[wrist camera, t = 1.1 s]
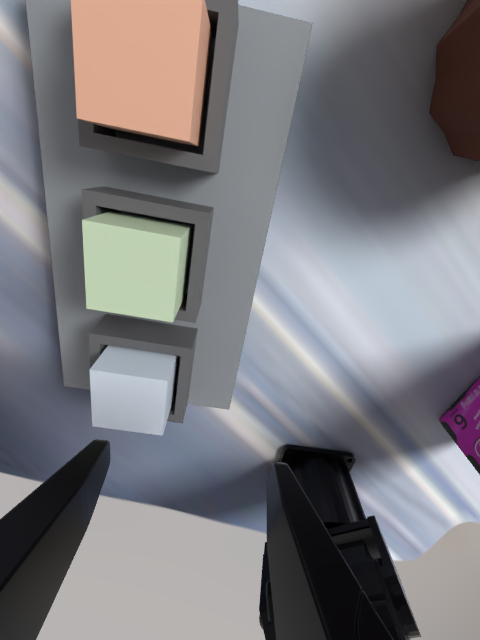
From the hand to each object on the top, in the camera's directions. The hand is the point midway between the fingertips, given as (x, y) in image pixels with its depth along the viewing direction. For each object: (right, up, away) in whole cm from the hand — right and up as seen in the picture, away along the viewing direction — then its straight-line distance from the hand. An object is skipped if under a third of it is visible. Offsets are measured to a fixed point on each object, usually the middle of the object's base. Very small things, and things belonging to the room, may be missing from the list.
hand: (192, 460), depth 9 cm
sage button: (-3, +8, +7) cm, 11 cm away
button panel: (-3, +9, +10) cm, 14 cm away
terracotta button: (-2, +14, +4) cm, 15 cm away
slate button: (-5, +1, +10) cm, 11 cm away
